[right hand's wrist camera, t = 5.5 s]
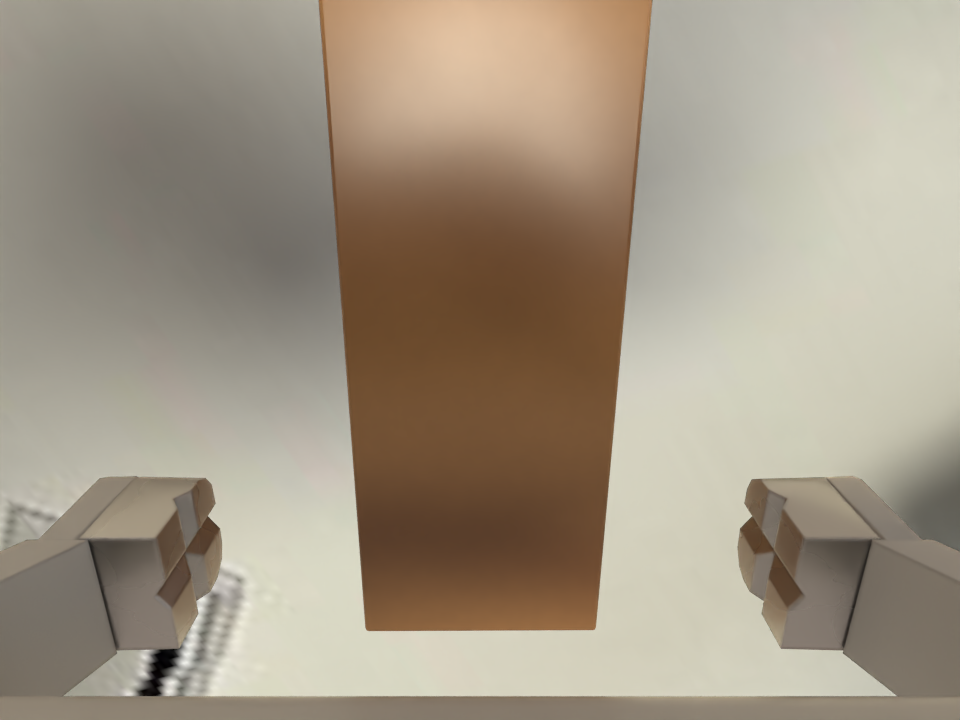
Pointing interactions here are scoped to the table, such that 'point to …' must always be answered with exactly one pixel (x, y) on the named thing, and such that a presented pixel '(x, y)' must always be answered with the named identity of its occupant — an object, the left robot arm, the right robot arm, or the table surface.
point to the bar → (483, 295)
